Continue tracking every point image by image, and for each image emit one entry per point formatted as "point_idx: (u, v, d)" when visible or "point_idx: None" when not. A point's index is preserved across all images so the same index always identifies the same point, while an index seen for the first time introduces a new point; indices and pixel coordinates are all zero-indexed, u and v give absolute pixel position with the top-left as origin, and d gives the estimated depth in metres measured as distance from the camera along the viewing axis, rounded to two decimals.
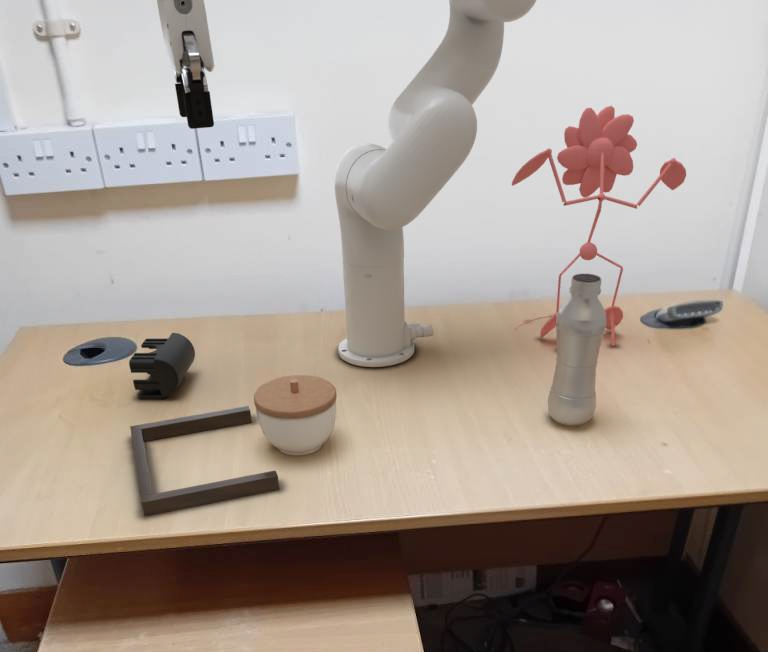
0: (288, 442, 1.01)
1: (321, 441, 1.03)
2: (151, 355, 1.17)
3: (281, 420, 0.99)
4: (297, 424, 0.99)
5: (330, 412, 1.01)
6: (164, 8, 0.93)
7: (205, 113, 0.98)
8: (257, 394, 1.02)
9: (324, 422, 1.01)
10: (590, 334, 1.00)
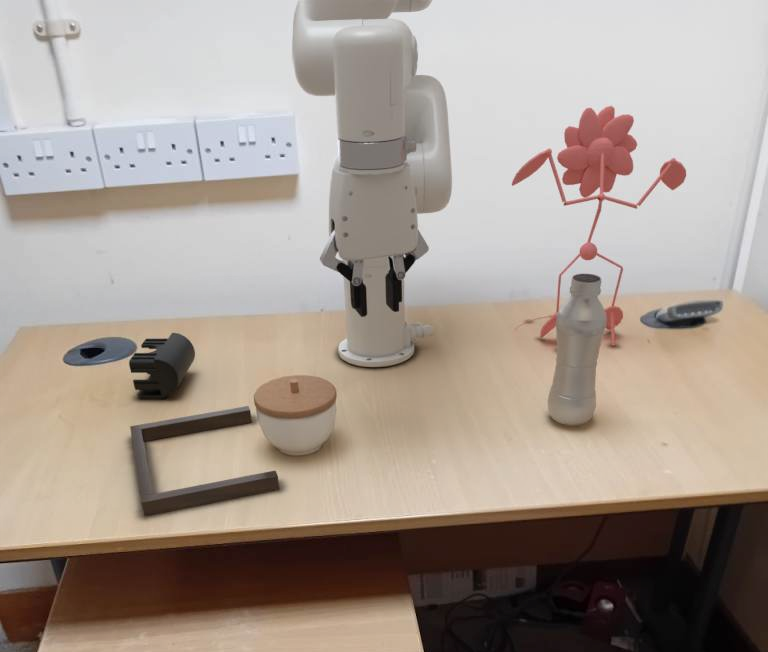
0: (288, 442, 1.01)
1: (321, 441, 1.03)
2: (151, 354, 1.17)
3: (281, 420, 0.99)
4: (297, 424, 0.99)
5: (330, 412, 1.01)
6: (411, 195, 0.91)
7: None
8: (257, 394, 1.02)
9: (324, 422, 1.01)
10: (590, 334, 1.00)
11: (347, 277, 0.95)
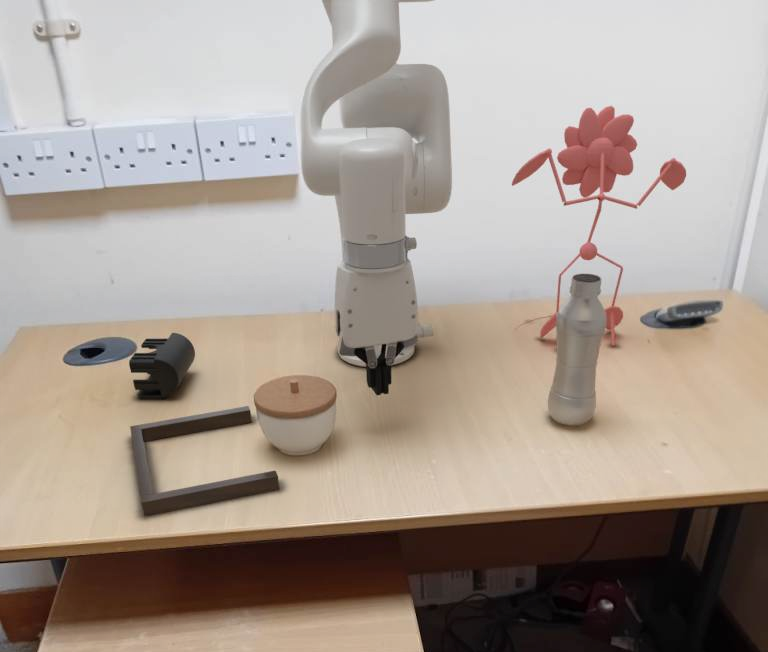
0: (288, 442, 1.01)
1: (321, 441, 1.03)
2: (151, 355, 1.17)
3: (281, 420, 0.99)
4: (297, 424, 0.99)
5: (330, 412, 1.01)
6: (411, 288, 0.97)
7: None
8: (257, 394, 1.02)
9: (324, 422, 1.01)
10: (590, 334, 1.00)
11: (364, 360, 1.02)
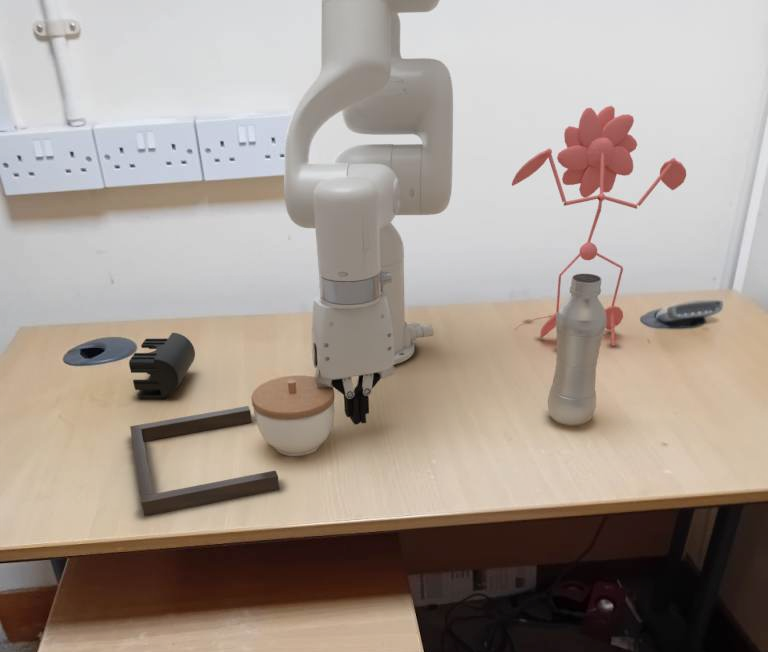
0: (285, 442, 1.01)
1: (319, 442, 1.03)
2: (151, 354, 1.17)
3: (279, 421, 0.99)
4: (295, 425, 0.99)
5: (328, 413, 1.01)
6: (387, 322, 0.99)
7: None
8: (255, 395, 1.02)
9: (322, 422, 1.01)
10: (590, 334, 1.00)
11: (341, 391, 1.03)
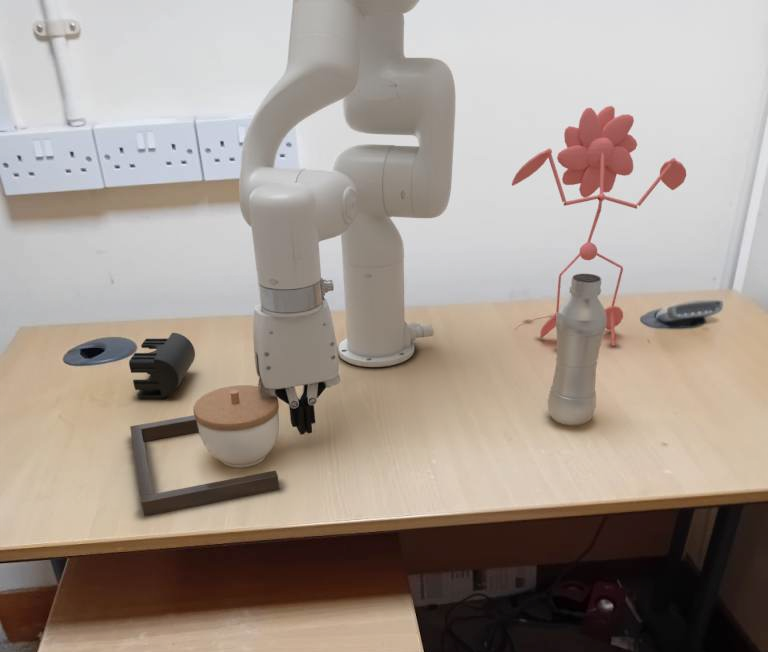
0: (228, 454, 0.99)
1: (263, 453, 1.01)
2: (151, 354, 1.17)
3: (220, 432, 0.97)
4: (236, 436, 0.97)
5: (271, 423, 0.99)
6: (329, 330, 0.97)
7: None
8: (197, 405, 1.00)
9: (265, 433, 0.99)
10: (590, 334, 1.00)
11: (285, 400, 1.01)
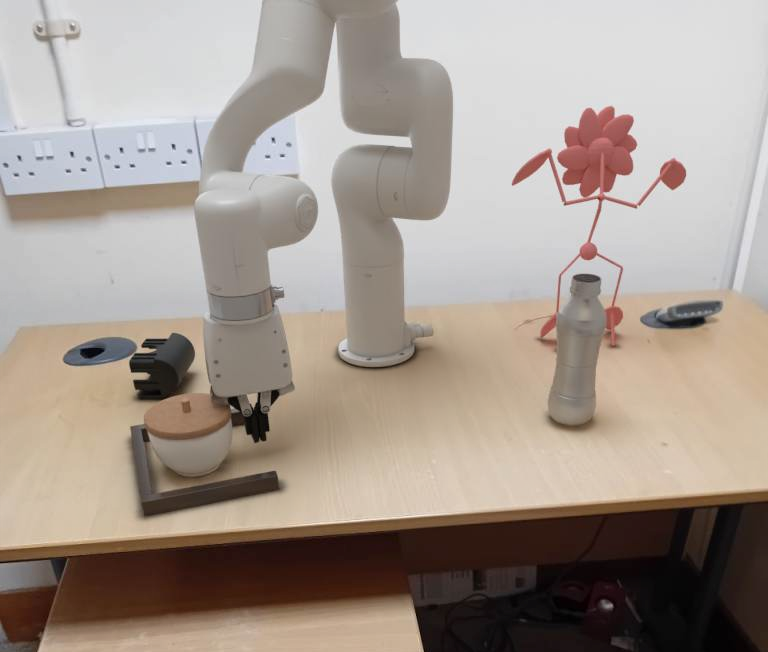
0: (179, 463, 0.97)
1: (215, 462, 0.99)
2: (151, 354, 1.17)
3: (169, 441, 0.95)
4: (186, 445, 0.95)
5: (223, 432, 0.98)
6: (280, 338, 0.95)
7: None
8: (147, 414, 0.98)
9: (216, 442, 0.97)
10: (590, 334, 1.00)
11: (238, 408, 1.00)
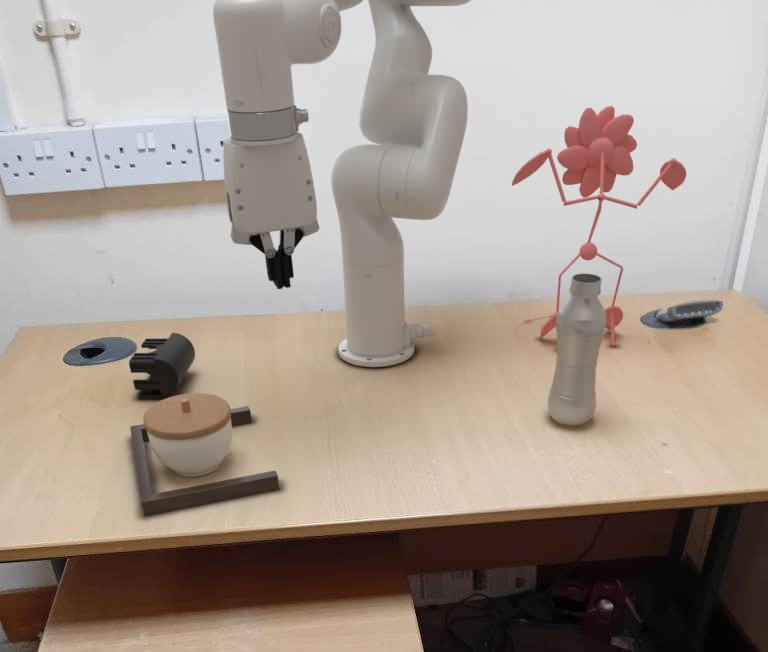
0: (178, 463, 0.97)
1: (215, 462, 0.99)
2: (151, 354, 1.17)
3: (169, 441, 0.95)
4: (186, 445, 0.95)
5: (222, 432, 0.98)
6: (305, 166, 0.90)
7: None
8: (147, 414, 0.98)
9: (216, 442, 0.97)
10: (590, 334, 1.00)
11: (260, 249, 0.95)
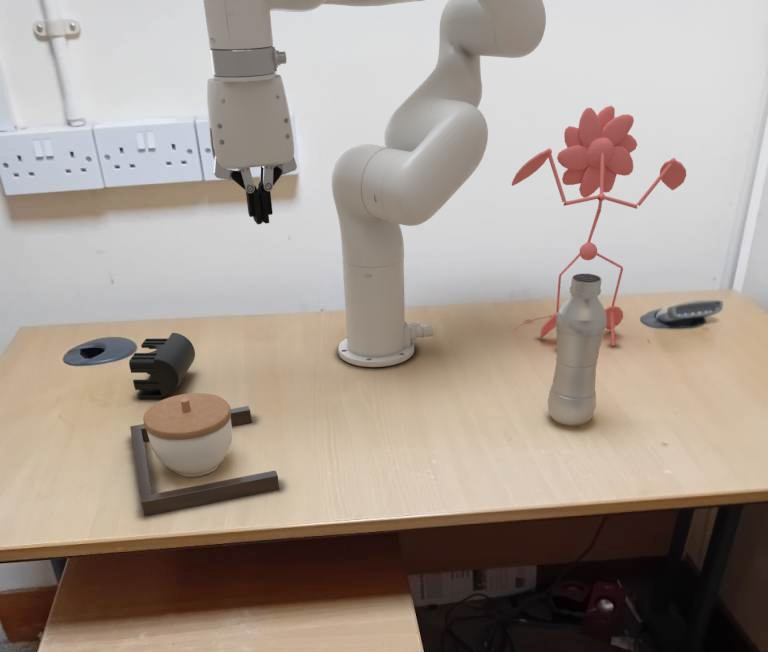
0: (178, 463, 0.97)
1: (215, 462, 0.99)
2: (151, 355, 1.17)
3: (169, 441, 0.95)
4: (186, 445, 0.95)
5: (222, 432, 0.98)
6: (283, 105, 0.97)
7: None
8: (147, 414, 0.98)
9: (216, 442, 0.97)
10: (590, 334, 1.00)
11: (241, 184, 1.02)
